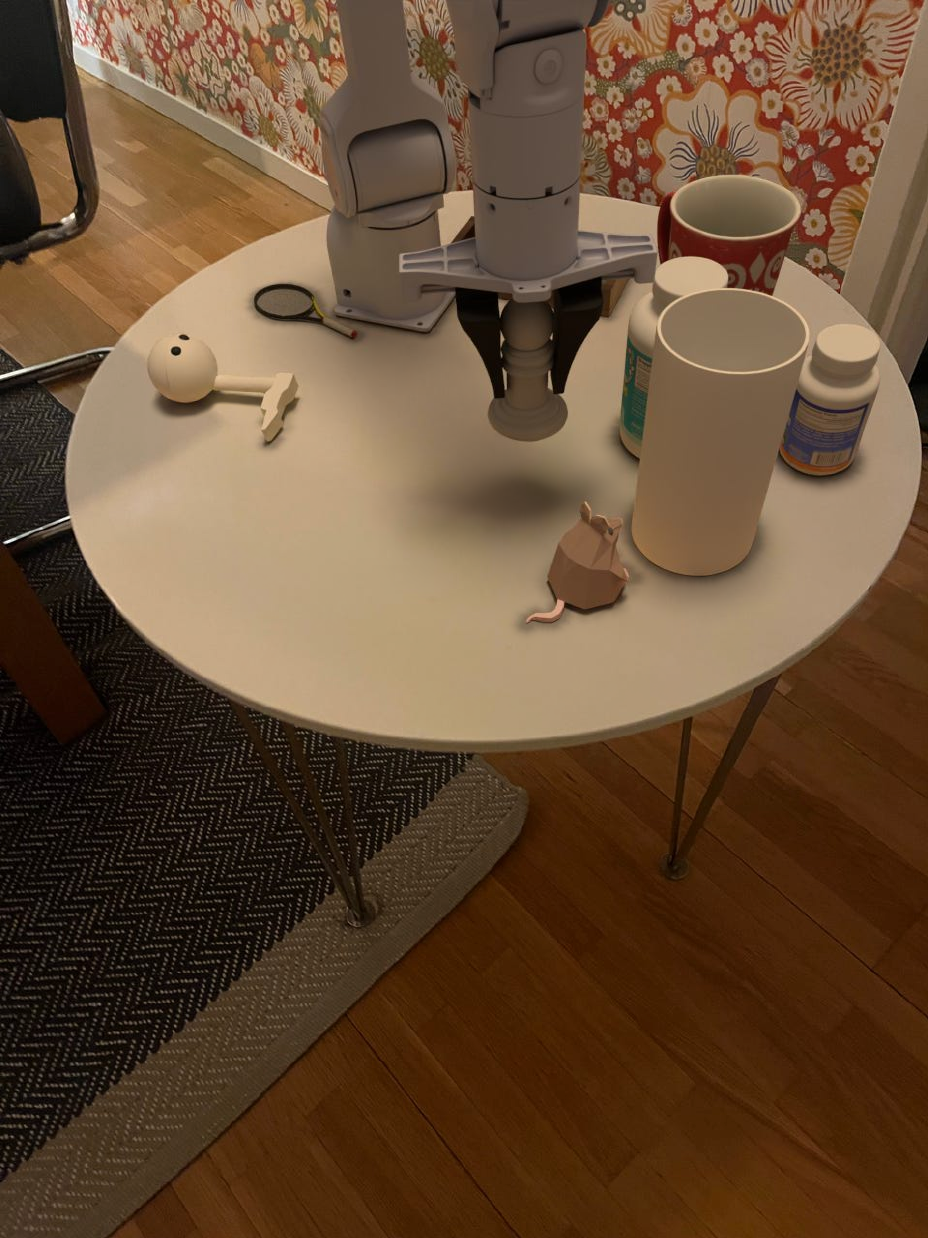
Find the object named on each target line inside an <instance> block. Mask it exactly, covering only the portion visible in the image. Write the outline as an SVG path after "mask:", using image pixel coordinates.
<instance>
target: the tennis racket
mask: <svg viewBox="0 0 928 1238" xmlns="http://www.w3.org/2000/svg"><path fill="white" fill-rule="evenodd" d="M278 289H280V291H279V296H281V297H279V298H278V297H276V296H274V295H277V292H275V291H278ZM274 290H275V291H274ZM295 291H296V292H295ZM282 292H284V293H286V294H284V293H282ZM287 292H289V293H288V294H287ZM265 293H266V294H265ZM269 296H271V298H273V299H275V300H277V301H276V302H272V301H270V300H269ZM288 296H289V297H288ZM300 296H301V297H300ZM260 297H261V298H260ZM307 297H309V298H307ZM298 298H299V299H298ZM278 300H279V301H278ZM299 300H301V301H303V303H302V302H301V301H299ZM262 303H266V305H263V306H262ZM282 303H283V304H282ZM292 303H293V304H295V305H296V306H294V307H292ZM307 303H308V304H307ZM253 304H254V306H255V308H256V310H258V312H259V313H261V314H263V315H264V316H266V317H269V318H272V319H276V320H295V321H297V320H298V321H309V322H310V321H311V322H315V323H321V324H323V325H325V326H327V327H329V328H331V329H333V330H335V331H338V332H340V333H342V334H343V335H346V336H347V337H349V338H352V339H355V338H357V335H358V332H357V330H354V329H352V328H350V327H347V326H345V325H343V324H341V323H340V322H337V321H335V320H333V319H331V318H329V317H326V316H325V315H324V314H323V312H321V310H320V309H319V307H318V304H317V301H316V298H315V296H314V294H313V293H312V291H310V290H308V289H306V288H305V287H303V286H301V285H296V284H293V283H275V284H270V285H267V286H264V287H263V288H261V289H260V290H258V291H257V292H256V293H255V295H254V297H253ZM269 304H271V305H273V306H269ZM310 304H311V305H310ZM260 305H261V306H260ZM308 305H309V307H308V308H307V309H305V310H303V309H302V310H301V308H300V309H299V307H303V308H306V307H307V306H308ZM264 307H265V308H264ZM274 308H276V309H274ZM287 308H290V310H288V312H286V309H287ZM281 309H283V311H281ZM314 309H315V311H316V312H317V314H318V315H319V316H320V317H315V316H309V314H311V313H312V311H314ZM279 310H280V311H279ZM298 311H302V312H299V313H297V312H298ZM289 312H290V313H289ZM291 312H295V313H294V314H291Z"/></svg>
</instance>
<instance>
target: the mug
mask: <svg viewBox="0 0 928 1238" xmlns="http://www.w3.org/2000/svg"><path fill="white" fill-rule="evenodd" d="M801 215H802V205H801V202H800V201H799V199H798V197H797V196H796V195H795V193H793V192H792V191H790V190H789V189H788V188H786V187H784V186H783V185H780V184H778V183H776V182H774V181H771V180H768V179H765V178H760V177H756V176H751V175H743V174H719V175H712V176H707V177H703V178H699V179H696V180H693V181H691V182H688V183H687V184H684V185H683V186H681V187H680V188H678V189H676V190H673V191H671V192H669V193H667V194H666V195H664V197H663V199H662V201H661V203H660V206H659V210H658V215H657V222H656V223H657V225H656V241H657V251H658V260H659V266H660V265H661V264H663V263H664V262H666V261H669V260H671V259H675V258H679V257H702V258H706V259H710V260H712V261H715V262H717V263H718V264H720V265H721V266H723V267H724V269H725V270H726V271H727V274H728V285H727V288H737V289H746V290H752V291H756V292H761V293H764V294H767V295H770V296H773V297H774V293H775V290H776V287H777V283H778V281H779V280H778V279H779V277H780V273H781V270H782V268H783V263H784V261H785V258H786V257H785V256H786V254H787V250H788V247H789V244H790V241H791V238H792V234H793V232H794V228H795V226H796V225H797V223H798V222H799V221H800V218H801Z"/></svg>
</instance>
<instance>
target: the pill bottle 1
mask: <svg viewBox="0 0 928 1238" xmlns="http://www.w3.org/2000/svg"><path fill="white" fill-rule="evenodd" d="M727 285H728V274H727V271H726V270H725V269H724V267H723V266H721V265H720V264H718V263H717V262H715V261H712V260H710V259H706V258H702V257H679V258H675V259H671V260H669V261H666V262H664V263H663V264H661V265H660V264H659V266H658V267H656V271H655V279H654V282H653V283H652V289H651V291H650V292H648V293H646V294H645V295H644V296H643V297H641V298H640V299H639V300H638V301H637V303H636V304H635V305H634V307H633V308H632V310H631V312H630V315H629V318H628V325H627V335H626V336H627V337H626V347H625V358H624V370H623V371H624V373H623V382H622V395H621V406H620V415H619V435H620V439H621V441H622V444H623V446H625V448H626V449H627V450H628V451H629V452H630V453H631V454H632V455H634V456H635V457H636V458H638V459H640V455H641V446H642V438H643V430H644V422H645V414H646V406H647V398H648V390H649V382H650V374H651V366H652V358H653V350H654V342H655V334H656V327H657V323H658V320H659V317H660V315H661V313H662V312H663V311H664V309H665V308H666V307H667V306H668V305H670V304H671V303H672V302H674V301H675V300H677V299H679V298H681V297H683V296H685V295H688V294H690V293H694V292H697V291H702V290H708V289H716V288H727Z"/></svg>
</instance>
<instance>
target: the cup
mask: <svg viewBox="0 0 928 1238" xmlns="http://www.w3.org/2000/svg"><path fill="white" fill-rule="evenodd" d="M808 325H809V324H808V322H807V321H806V320H805V318H804V317H803V315H802V314H801V313H800V312H799V311H798V310H797V309H795V307H793V306H791V305H790V304H789V303H787V302H785V301H783V300H782V299H779V298H778V297H775V296H774V295H773V296H770V295H767V294H764V293H761V292H756V291H752V290H746V289H737V288H716V289H708V290H702V291H697V292H694V293H690V294H688V295H685V296H683V297H681V298H679V299H677V300H675V301H674V302H672V303H671V304H670V305H668V306H667V307H666V308H665V309H664V311H663V312H662V313H661V315H660V317H659V320H658V323H657V327H656V334H655V342H654V350H653V358H652V366H651V374H650V382H649V390H648V398H647V406H646V414H645V422H644V430H643V438H642V446H641V455H640V458H639V463H638V472H637V478H636V479H637V480H636V488H635V496H634V503H633V505H634V506H633V511H632V512H633V513H632V520H631V535H632V539H633V542H634V544H635V546H636V548H637V549H638V550H639V552H640V553H641V554H642V555H643V556H644V557H645V558H647V560H648V561H650V562H651V563H653V564H654V565H656V566H658V567H660V568H661V569H664V570H666V571H669V572H671V573H675V574H679V575H685V576H691V577H692V576H693V577H701V576H703V577H705V576H711V575H717V574H720V573H724V572H726V571H728V570H732V569H733V568H734V567H736V566H738V565H739V564H740V563H741V562H743V560H744V559H746V557H747V556H748V554H749V553H750V551H751V549H752V547H753V543H754V540H755V537H756V533H757V529H758V525H759V521H760V518H761V515H762V512H763V507H764V505H765V501H766V496H767V494H768V490H769V486H770V483H771V480H772V476H773V473H774V469H775V465H776V462H777V458H778V454H779V452H780V444H781V441H782V437H783V434H784V430H785V427H786V423H787V420H788V416H789V412H790V409H791V405H792V402H793V398H794V395H795V391H796V388H797V384H798V381H799V377H800V373H801V370H802V366H803V363H804V359H805V358H806V355H807V351H808V348H809V342H810V328H809V326H808Z"/></svg>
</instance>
